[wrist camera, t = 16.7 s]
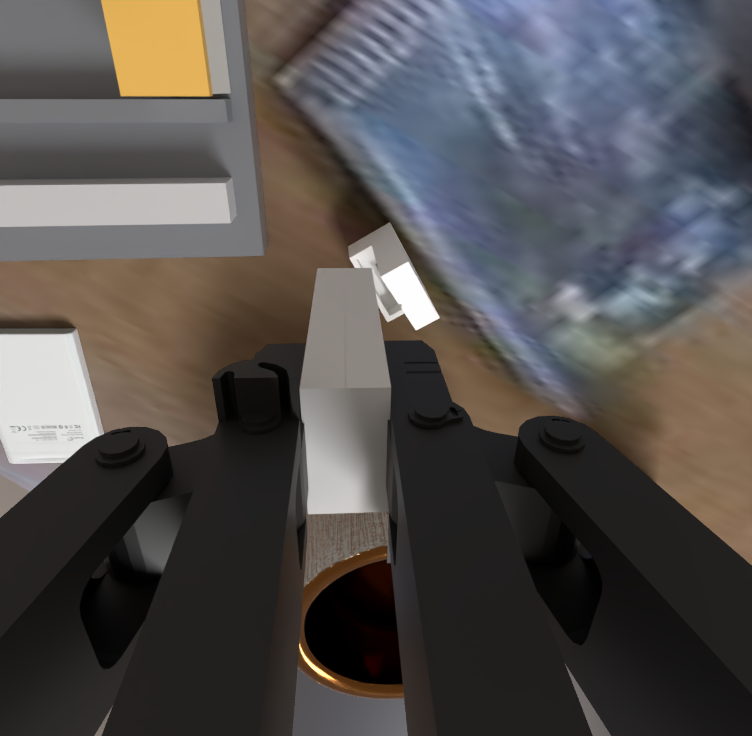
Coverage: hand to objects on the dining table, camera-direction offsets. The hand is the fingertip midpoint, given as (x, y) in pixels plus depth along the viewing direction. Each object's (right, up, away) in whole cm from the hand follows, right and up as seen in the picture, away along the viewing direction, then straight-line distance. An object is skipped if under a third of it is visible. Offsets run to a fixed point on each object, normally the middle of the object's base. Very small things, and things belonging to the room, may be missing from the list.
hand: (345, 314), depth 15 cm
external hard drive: (-27, -4, +29) cm, 40 cm away
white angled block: (+2, +7, +26) cm, 26 cm away
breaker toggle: (-10, +18, +15) cm, 25 cm away
